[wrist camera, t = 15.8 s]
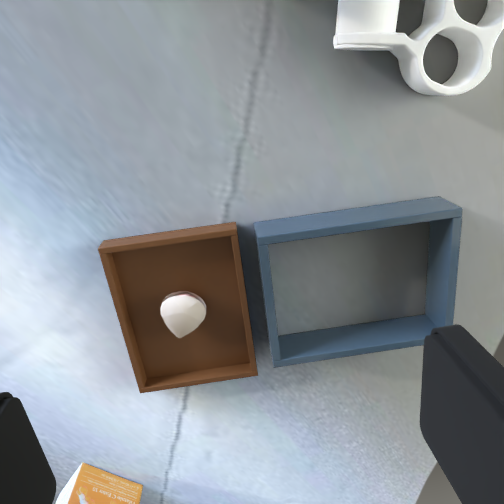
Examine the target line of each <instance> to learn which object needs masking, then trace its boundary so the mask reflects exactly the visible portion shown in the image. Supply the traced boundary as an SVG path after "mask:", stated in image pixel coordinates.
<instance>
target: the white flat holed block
mask: <svg viewBox="0 0 504 504" xmlns="http://www.w3.org/2000/svg"><path fill="white" fill-rule="evenodd" d="M399 2H400V0H338V10H337V22H336V34H335V36H334V40H333V45H334V49H339V50H361V51H379V50H389V51H390V52H391V53H392V54H393V55H395V56H396V57H397V58H398V60H399V68H400V72H401V74H402V77H403V79H404V80H405V82H406V83H407V84H408V86H409V87H411V88H412V89H413V90H415V91H416V92H418V93H421V94H425V95H436V96H455V95H459V94H462V93H465V92H467V91H469V90H471V89H472V88H474V87H475V86H476V85H478V84H479V83H480V82H481V81H482V80H483V79H484V78H485V77H486V75H487V74H488V73H489V71H490V69H491V57H492V51H493V48H494V45H495V42H496V40H497V38H498V36H499V34H500V33H501V31H502V30H503V28H504V0H488V2H487V8H486V11H485V13H484V15H483V17H482V19H481V20H480V21H479V23H478V24H477V25H473V24H471V23H469V22H466V21H464V20H463V19H462V18H461V17H460V16H459V15H458V14H457V12H456V10H455V6H454V0H425V6H424V12H423V19H422V23H421V25H420V26H419V28H417V29H416V30H414V31H413V32H412V33H411V34H410V35H409V36H407V35H406V34H405V33H395V32H396V25H397V17H398V10H399ZM435 34H439V35H442V36H444V37H447V38H449V39H450V40H452V41H453V43H454V44H455V46H456V48H457V51H458V64H457V67H456V70H455V72H454V73H453V75H452V76H451V77H450V79H449V80H447V81H446V82H445V83H443V84H439V83H436V82H434V81H432V80H431V79H430V78H429V77H428V76H427V75H426V73H425V71H424V67H423V55H424V51H425V48H426V46H427V44H428V42H429V41H430V40H431V38H432V37H433V36H434V35H435Z"/></svg>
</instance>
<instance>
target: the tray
mask: <svg viewBox="0 0 504 504" xmlns="http://www.w3.org/2000/svg"><path fill="white" fill-rule="evenodd" d="M98 251H99V254H100V258H101V261H102V264H103V268H104V271H105V275H106V278H107V281H108V285H109V288H110V292H111V295H112V299H113V302H114V305H115V309H116V312H117V316H118V319H119V322H120V326H121V329H122V333H123V336H124V339H125V343H126V346H127V350H128V353H129V357H130V360H131V363H132V367H133V370H134V374H135V377H136V380H137V384H138V387H139V391H140V393H145V392H152V391H159V390H165V389H172V388H178V387H185V386H192V385H198V384H205V383H211V382H218V381H225V380H231V379H238V378H245V377H251V376H258V372H257V365H256V358H255V351H254V344H253V337H252V331H251V324H250V317H249V310H248V303H247V296H246V289H245V282H244V275H243V268H242V261H241V254H240V247H239V241H238V234H237V227H236V222H231V223H224V224H217V225H210V226H203V227H196V228H189V229H181V230H174V231H167V232H160V233H153V234H146V235H139V236H132V237H125V238H118V239H111V240H104V241H103V242H102V244H101V245H100V246H99V248H98ZM178 291H188V292H191V293H194V294H196V295H198V296H199V297H200V298H202V299H203V301H204V303H205V305H206V316H205V318H204V320H203V321H202V322H201V323H200V325H199V326H198V327H197V328H196V329H195V330H194V331H192V332H190V333H189V334H187V335H185V336H184V337H182V338H178V337H176V336H175V334H173V333H172V332H171V331H170V329H169V328H168V327H167V326H166V324H165V322H164V320H163V318H162V316H161V310H160V308H161V304H162V301H163V300H164V299H165V297H166V296H167V295H169V294H171V293H174V292H178Z"/></svg>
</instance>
